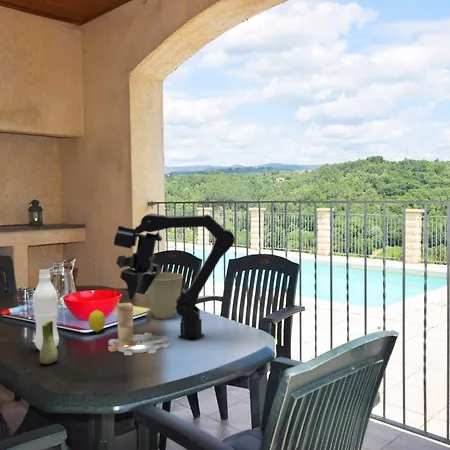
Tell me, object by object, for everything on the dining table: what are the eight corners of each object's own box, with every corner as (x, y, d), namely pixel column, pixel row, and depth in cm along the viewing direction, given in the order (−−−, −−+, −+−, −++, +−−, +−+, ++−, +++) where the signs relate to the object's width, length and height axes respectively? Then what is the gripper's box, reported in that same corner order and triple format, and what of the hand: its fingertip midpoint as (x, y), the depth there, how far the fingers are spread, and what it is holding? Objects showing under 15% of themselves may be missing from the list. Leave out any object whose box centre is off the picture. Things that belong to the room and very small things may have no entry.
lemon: (101, 335, 179) (100, 312, 178) (86, 334, 180) (85, 311, 179) (108, 330, 184) (107, 308, 183) (93, 329, 185) (92, 307, 184)
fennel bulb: (51, 358, 155) (49, 318, 154) (62, 361, 153) (61, 320, 152) (35, 364, 150) (33, 323, 149) (47, 367, 148) (45, 325, 147)
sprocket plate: (180, 342, 170) (180, 338, 170) (141, 358, 154) (141, 354, 154) (137, 333, 181) (136, 329, 180) (95, 348, 165) (95, 343, 165)
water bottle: (63, 346, 167) (61, 268, 164) (49, 353, 160) (46, 272, 158) (45, 344, 169) (42, 267, 167) (29, 351, 162) (27, 271, 160)
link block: (130, 340, 167) (129, 302, 166) (133, 344, 164) (132, 305, 163) (117, 342, 166) (116, 303, 165) (120, 346, 162) (119, 306, 161)
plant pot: (136, 318, 200) (135, 277, 199) (161, 310, 213) (160, 271, 212) (167, 323, 193) (167, 280, 191) (191, 314, 205) (190, 274, 204)
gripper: (136, 242, 184) (128, 284, 187) (109, 249, 167) (101, 295, 169) (165, 250, 181) (157, 293, 184) (140, 257, 164) (132, 305, 166)
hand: (137, 296), depth 175 cm, fingers open, 9 cm apart
